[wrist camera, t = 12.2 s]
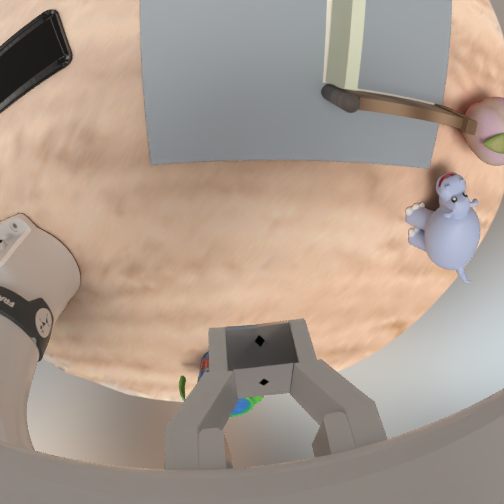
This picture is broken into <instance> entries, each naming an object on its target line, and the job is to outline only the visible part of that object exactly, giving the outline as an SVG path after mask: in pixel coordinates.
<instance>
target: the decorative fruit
mask: <svg viewBox="0 0 504 504" xmlns="http://www.w3.org/2000/svg"><path fill="white" fill-rule="evenodd" d="M465 116H467V117H469V118H471V119H473V120H475V121H477V122H478V123H477V128H476V132H475V135H471V134H467V133H464V132H463V135H464V138H465V140H466V142H467V143H468V145H469V147H470V148H471V150H472V151H473V152H474V153H475V155H476V156H477V157H478V158H479V159H481V160H482V161H483V162H485V163H487V164H489V165H494V166H500V165H504V98H502V97H491V98H486V99H483V100H481V101H480V102H478V103H475V104H473V105H471V106H470V107H469V108H468V110H467V111H466V113H465Z"/></svg>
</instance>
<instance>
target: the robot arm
mask: <svg viewBox="0 0 504 504" xmlns="http://www.w3.org/2000/svg"><path fill="white" fill-rule="evenodd" d="M79 286H80V272H79V268H78V266H77V263H76V261H75V260H74V258H73V256H72V255H71V253H70V252H69V251H68V250H67V248H66V247H65V246H64V245H63V244H62V243H61V242H60V241H58V240H57V239H56V238H55V237H53V236H52V235H50V234H48V233H47V232H45V231H43V230H41V229H39V228H38V227H36V226H35V225H34V224H33V223H32V222H31V221H30V220H29V219H28V218H27V217H26V216H25V215H23V214H17V215H14V216H12V217H10V218H7V219H5V220H3V221H1V222H0V504H504V389H502V390H500V391H498V392H497V393H495V394H493V395H491V396H489V397H488V398H486V399H484V400H482V401H480V402H478V403H476V404H474V405H472V406H470V407H468V408H465V409H463V410H461V411H459V412H457V413H455V414H453V415H450V416H448V417H446V418H443V419H441V420H438V421H436V422H434V423H431V424H429V425H426V426H423V427H421V428H418V429H416V430H413V431H410V432H407V433H404V434H402V435H399V436H396V437H393V438H390V439H387V437H386V434H385V430H384V428H383V425H382V422H381V419H380V416H379V413H378V410H377V407H376V404H375V402H374V401H373V400H371V399H370V398H369V397H368V396H366V395H365V394H364V393H362V392H361V391H360V390H359V389H357V388H356V387H355V386H354V385H353V384H351V383H350V382H349V381H348V380H346V379H345V378H344V377H343V376H341V375H340V374H339V373H338V372H337V371H335V370H334V369H333V368H332V367H330V366H329V365H328V364H327V363H326V362H324V361H323V360H322V359H320V360H317V358H316V355H315V351H314V348H313V345H312V341H311V338H310V334H309V331H308V328H307V324H306V321H305V320H304V319H296V320H288V321H287V320H286V321H278V322H270V323H262V324H257V325H246V326H232V327H226V328H225V327H218V328H209V372H205V373H204V374H203V376H202V377H201V379H200V380H199V381H198V383H197V384H196V386H195V387H194V388H193V390H192V391H191V393H190V394H189V396H188V397H187V398H186V400H185V401H184V403H183V404H182V405H181V407H180V408H179V410H178V411H177V412H176V414H175V415H174V417H173V418H172V419H171V421H170V422H169V424H168V425H167V426H166V428H165V459H164V461H165V462H164V470H162V469H161V470H160V469H144V468H131V467H121V466H112V465H104V464H97V463H91V462H84V461H79V460H73V459H68V458H63V457H59V456H54V455H50V454H46V453H41V452H38V451H35V450H34V447H33V445H32V442H31V439H30V435H29V431H28V425H27V402H28V396H29V391H30V387H31V383H32V379H33V375H34V372H35V368H36V365H37V363H38V362H39V361H40V360H41V359H42V357H43V355H44V352H45V350H46V347H47V345H48V342H49V339H50V335H51V331H52V328H53V326H54V324H55V322H56V321H57V319H58V317H59V315H60V314H61V312H63V311H64V309H65V308H66V306H67V303H68V302H69V300H70V299H71V298H72V297H73V295H74V294H75V293H76V292H77V291H78V289H79ZM283 393H290V394H291V395H292V397H293V398H294V399H295V400H296V401H297V402H298V403H299V404H300V405H301V406H302V407H303V408H304V409H305V411H307V412H308V414H309V415H310V416H311V417H312V418H313V419H314V420H315V421H316V422H317V423H318V424H319V425H320V428H319V430H318V433H317V434H316V437H315V439H314V441H313V443H312V448H313V452H314V457H315V458H311V459H305V460H299V461H294V462H287V463H281V464H273V465H265V466H256V467H245V468H233V465H232V456H231V453H230V450H229V447H228V444H227V442H226V438H225V435H224V433H223V431H222V430H223V428H224V426H225V424H226V423H227V421H228V419H229V417H230V415H231V413H232V411H233V409H234V408H235V406H236V404H237V402H238V399H241V398H249V397H257V396H264V395H274V394H283Z"/></svg>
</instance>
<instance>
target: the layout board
mask: <svg viewBox="0 0 504 504" xmlns="http://www.w3.org/2000/svg"><path fill="white" fill-rule="evenodd" d="M332 2H333V0H140V36H141V61H142V78H143V92H144V104H145V115H146V125H147V135H148V143H149V152H150V160H151V165H158V164H172V163H187V162H206V161H234V160H310V161H338V162H357V163H372V164H385V165H397V166H407V167H417V168H426V169H429V166H430V162H431V158H432V154H433V149H434V145H435V140H436V136H437V131H438V126H439V123H434V122H430V121H425V120H420V119H414V118H409V117H403V116H397V115H391V114H385V113H378V112H371V111H363V110H357V111H356V112H354V113H348V112H346V111H344V110H342V109H341V108H339V107H337V106H336V105H334V104H333V103H331V102H329V101H328V100H326V99H324V98H323V97H322V95H321V90H322V88H323V86H325V85H327V84H331V85H334V84H332V83H329V82H327V81H326V75H327V65H328V54H329V43H330V30H331V17H332ZM451 15H452V0H366V5H365V20H364V32H363V43H362V53H361V62H360V71H359V79H358V87H357V91H364V92H371V93H377V94H383V95H389V96H394V97H400V98H405V99H409V100H414V101H419V102H423V103H427V104H432V105H434V104H439V105H442V103H443V97H444V91H445V84H446V76H447V68H448V59H449V48H450V35H451ZM334 86H336V85H334ZM336 87H339V86H336ZM339 88H341V87H339ZM341 89H344V88H341Z"/></svg>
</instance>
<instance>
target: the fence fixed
mask: <svg viewBox="0 0 504 504" xmlns="http://www.w3.org/2000/svg"><path fill="white" fill-rule="evenodd" d="M321 95H322V97H323V98H324V99H326V100H328V101H329V102H331V103H333V104H334V105H336V106H337V107H339V108H341V109H342V110H344V111H346V112H348V113H354V112H356V111H357V110H363V111H371V112H378V113H385V114H391V115H397V116H403V117H409V118H414V119H420V120H425V121H430V122H434V123H439V124H443V125H448V126H452V127H455V128H457V129H459V130H461V131H463V132H464V133H467V134H471V135H475V132H476V128H477V123H478V122H477V121H475V120H473V119H471V118H469V117H467V116H465V115H463V114H461V113H459V112H456V111H454V110H452V109H450V108H448V107H446V106H443V105H439V104H434V105H432V104H427V103H423V102H419V101H414V100H409V99H405V98H400V97H394V96H389V95H383V94H377V93H371V92H364V91H355V90H348V89H341V88H339V87H336V86H334V85H331V84H327V85H325V86H323V88H322V90H321Z"/></svg>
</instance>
